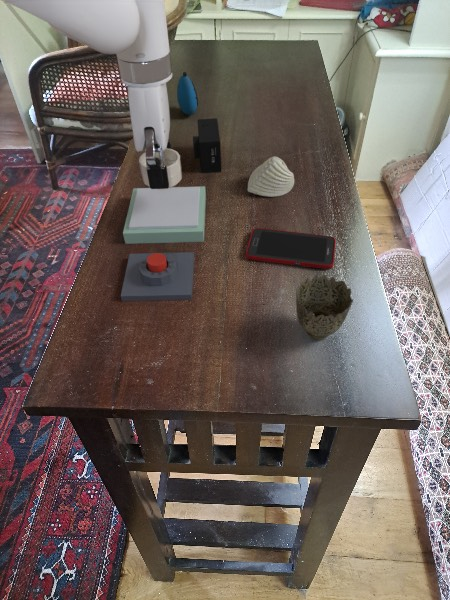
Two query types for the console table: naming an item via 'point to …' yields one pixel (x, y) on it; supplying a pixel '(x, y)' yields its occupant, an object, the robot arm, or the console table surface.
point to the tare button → (157, 262)
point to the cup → (322, 305)
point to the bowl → (170, 161)
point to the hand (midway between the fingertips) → (161, 174)
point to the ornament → (187, 95)
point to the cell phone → (291, 248)
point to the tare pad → (159, 278)
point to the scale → (166, 215)
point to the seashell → (271, 179)
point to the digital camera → (208, 145)
